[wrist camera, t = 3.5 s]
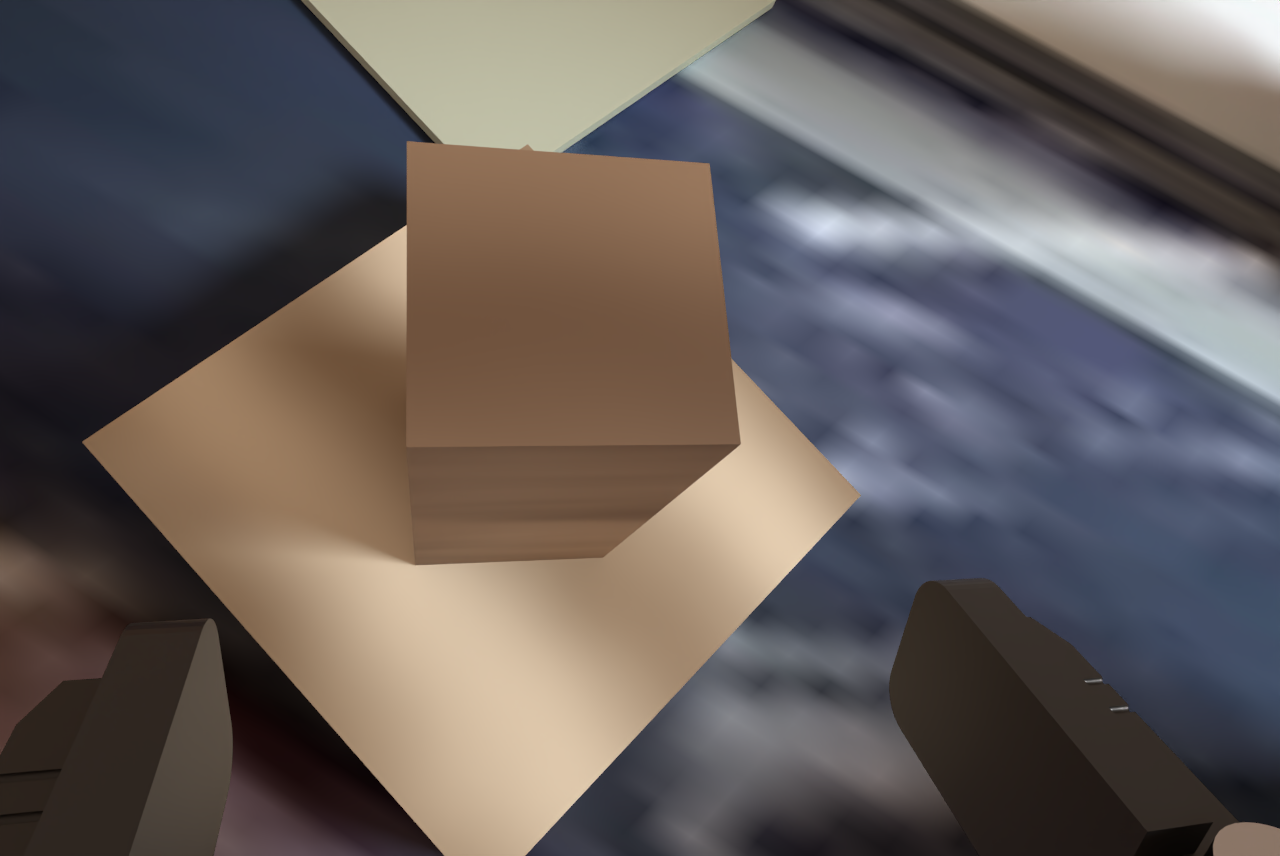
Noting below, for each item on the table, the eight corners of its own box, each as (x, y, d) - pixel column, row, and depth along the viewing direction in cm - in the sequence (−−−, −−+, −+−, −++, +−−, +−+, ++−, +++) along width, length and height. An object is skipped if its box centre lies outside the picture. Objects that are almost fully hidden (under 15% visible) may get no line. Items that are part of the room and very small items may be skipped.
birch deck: (513, 225, 25) (527, 144, 22) (795, 526, 25) (860, 494, 21) (142, 488, 21) (82, 441, 17) (472, 864, 20) (483, 900, 17)
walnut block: (414, 385, 19) (407, 140, 11) (592, 386, 20) (709, 163, 12) (415, 565, 18) (406, 447, 10) (603, 557, 19) (741, 444, 11)
